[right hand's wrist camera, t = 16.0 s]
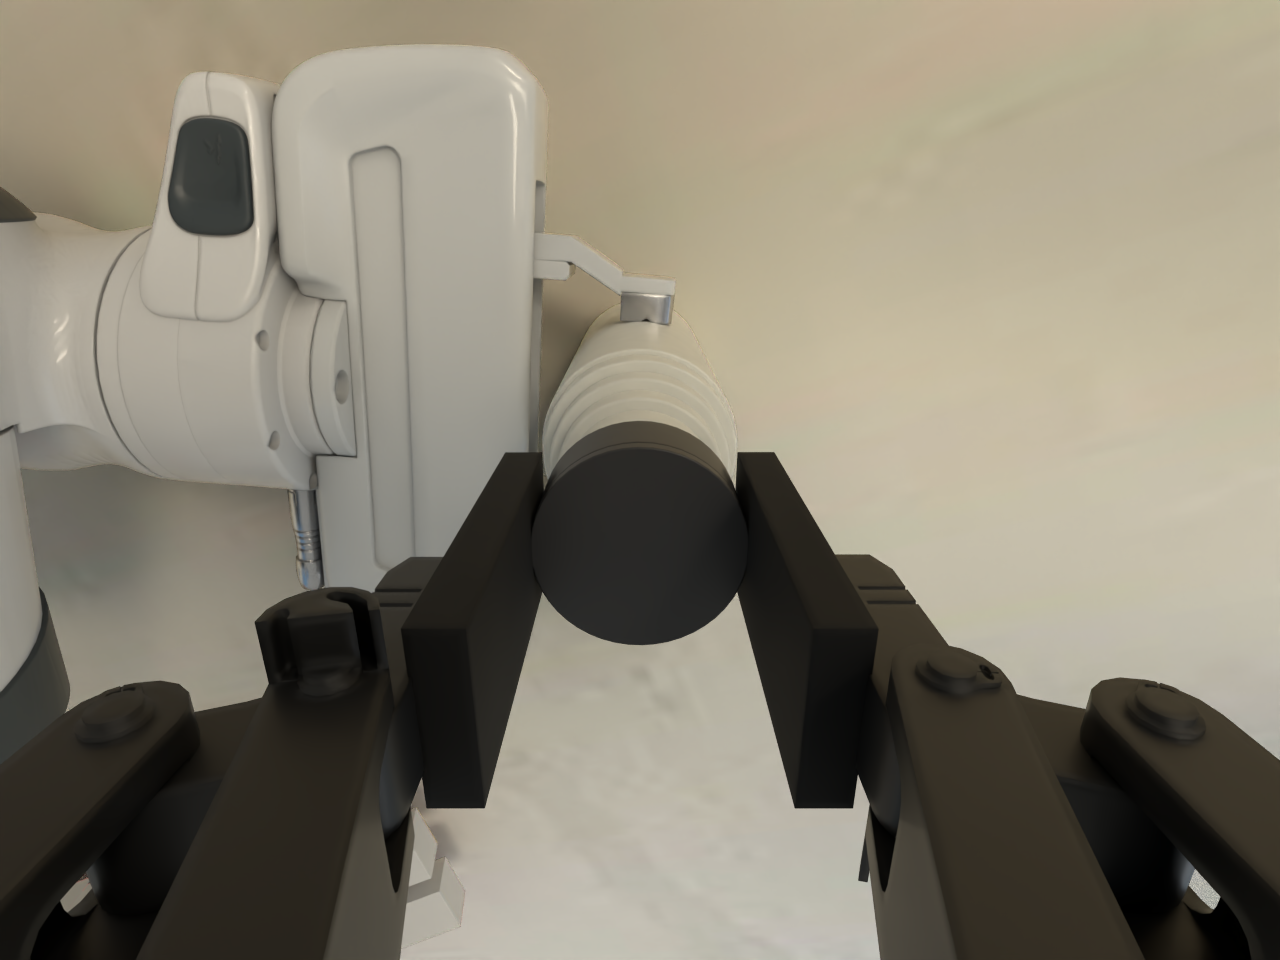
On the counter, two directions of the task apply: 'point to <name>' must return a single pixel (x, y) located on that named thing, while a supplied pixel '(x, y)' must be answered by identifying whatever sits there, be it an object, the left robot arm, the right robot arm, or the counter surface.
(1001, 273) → the counter surface
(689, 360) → the bottle
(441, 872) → the toy
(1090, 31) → the counter surface
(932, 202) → the counter surface
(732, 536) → the cap
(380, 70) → the left robot arm
